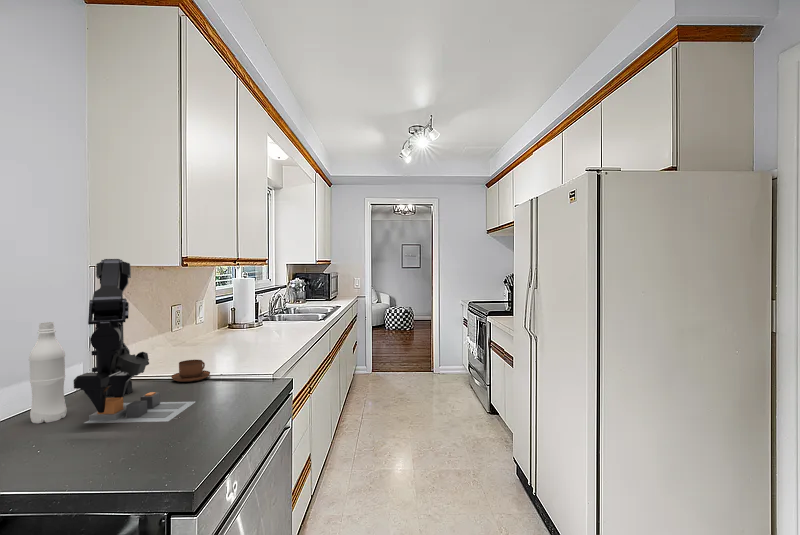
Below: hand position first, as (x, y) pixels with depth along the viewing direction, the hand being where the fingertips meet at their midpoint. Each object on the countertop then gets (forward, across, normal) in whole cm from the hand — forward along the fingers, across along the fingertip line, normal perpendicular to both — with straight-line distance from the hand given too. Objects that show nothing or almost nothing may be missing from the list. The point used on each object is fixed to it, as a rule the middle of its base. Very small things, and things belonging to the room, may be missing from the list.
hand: (110, 407), depth 118 cm
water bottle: (+4, -1, +14) cm, 15 cm away
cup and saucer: (+4, +42, -2) cm, 43 cm away
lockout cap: (+2, 0, 0) cm, 2 cm away
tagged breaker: (+2, +7, -6) cm, 10 cm away
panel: (+4, +3, -6) cm, 8 cm away
